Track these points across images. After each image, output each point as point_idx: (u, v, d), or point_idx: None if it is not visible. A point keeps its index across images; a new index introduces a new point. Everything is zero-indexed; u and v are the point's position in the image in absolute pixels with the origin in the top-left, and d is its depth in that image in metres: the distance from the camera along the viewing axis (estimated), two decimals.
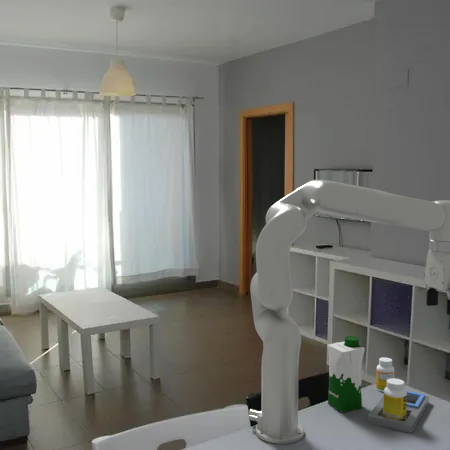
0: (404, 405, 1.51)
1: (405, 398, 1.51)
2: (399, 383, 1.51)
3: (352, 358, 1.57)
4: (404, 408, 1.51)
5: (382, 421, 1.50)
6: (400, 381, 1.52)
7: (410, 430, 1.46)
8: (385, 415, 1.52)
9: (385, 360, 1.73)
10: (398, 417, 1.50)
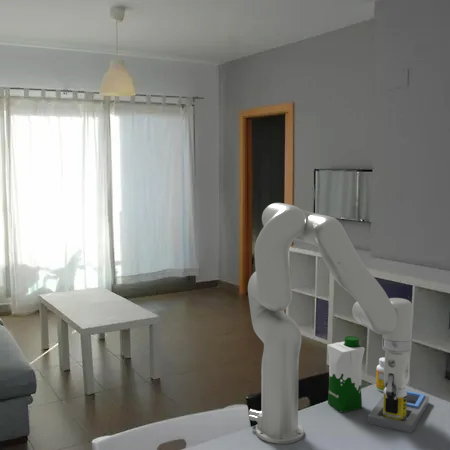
0: (404, 405, 1.50)
1: (405, 398, 1.51)
2: None
3: (352, 358, 1.57)
4: (404, 408, 1.51)
5: (382, 421, 1.50)
6: None
7: (410, 430, 1.46)
8: (385, 415, 1.52)
9: None
10: (398, 417, 1.50)
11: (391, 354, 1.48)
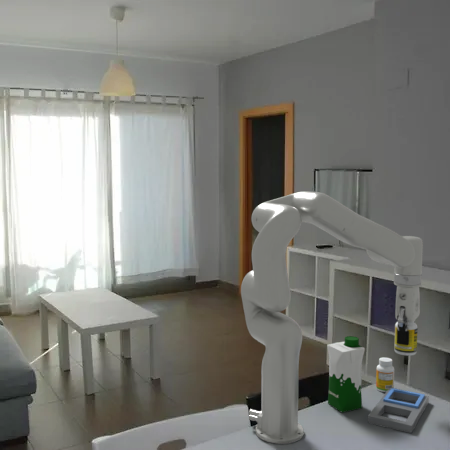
0: (415, 337, 1.58)
1: (416, 331, 1.58)
2: None
3: (352, 358, 1.57)
4: (415, 340, 1.58)
5: (382, 421, 1.50)
6: None
7: (410, 430, 1.46)
8: (397, 347, 1.60)
9: (385, 360, 1.73)
10: (409, 348, 1.58)
11: (403, 288, 1.56)
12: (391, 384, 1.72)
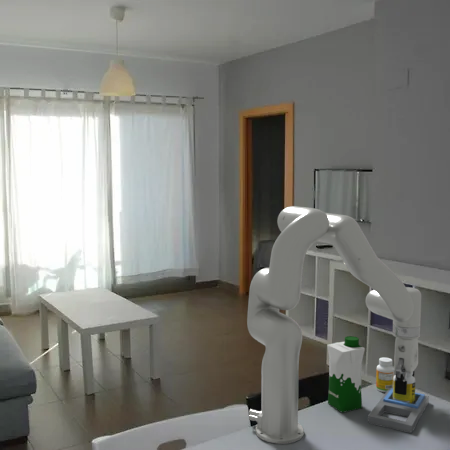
0: (413, 391, 1.60)
1: (414, 384, 1.60)
2: None
3: (352, 358, 1.57)
4: (413, 394, 1.60)
5: (382, 421, 1.50)
6: None
7: (410, 430, 1.46)
8: None
9: (385, 360, 1.73)
10: (407, 402, 1.60)
11: (401, 340, 1.57)
12: (391, 384, 1.72)
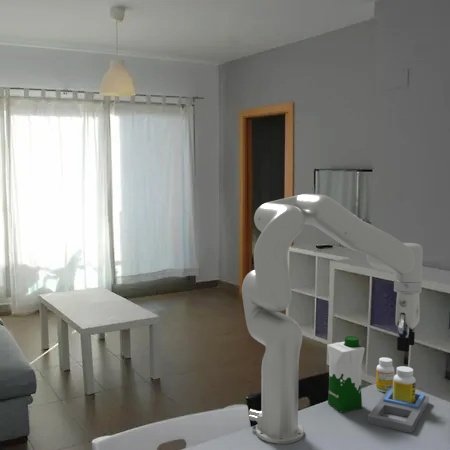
0: (413, 391, 1.60)
1: (414, 384, 1.60)
2: (408, 370, 1.60)
3: (352, 358, 1.57)
4: (413, 394, 1.60)
5: (382, 421, 1.50)
6: (409, 369, 1.62)
7: (410, 430, 1.46)
8: None
9: (385, 360, 1.73)
10: (407, 402, 1.60)
11: (403, 295, 1.56)
12: (391, 384, 1.72)
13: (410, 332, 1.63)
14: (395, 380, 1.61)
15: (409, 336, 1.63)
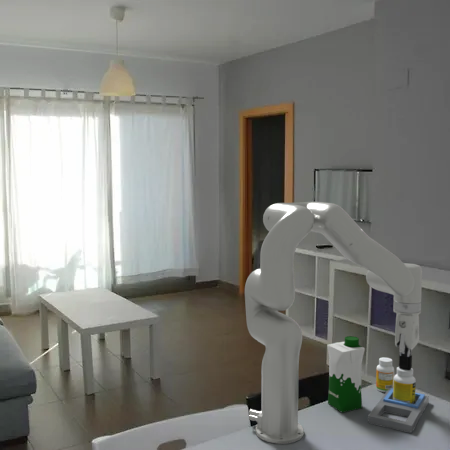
0: (413, 391, 1.60)
1: (414, 384, 1.60)
2: (408, 370, 1.60)
3: (352, 358, 1.57)
4: (413, 394, 1.60)
5: (382, 421, 1.50)
6: None
7: (410, 430, 1.46)
8: None
9: (385, 360, 1.73)
10: (408, 402, 1.60)
11: (402, 316, 1.57)
12: (391, 384, 1.72)
13: None
14: (395, 380, 1.61)
15: None
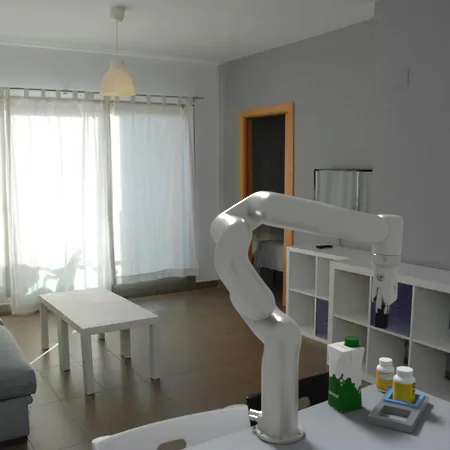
0: (413, 391, 1.60)
1: (414, 384, 1.60)
2: (408, 370, 1.60)
3: (352, 358, 1.57)
4: (413, 394, 1.60)
5: (382, 421, 1.50)
6: (409, 369, 1.62)
7: (410, 430, 1.46)
8: None
9: (385, 360, 1.73)
10: (408, 402, 1.60)
11: (380, 268, 1.46)
12: (391, 384, 1.72)
13: None
14: (395, 380, 1.61)
15: None
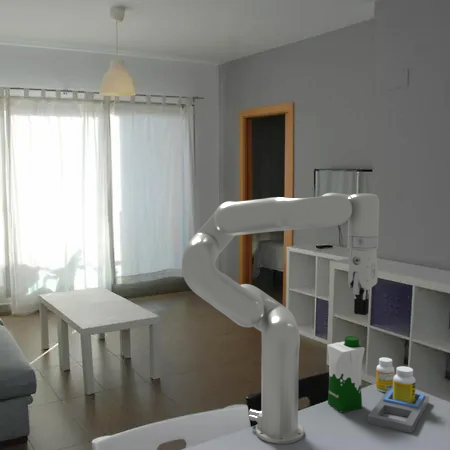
0: (413, 391, 1.60)
1: (414, 384, 1.60)
2: (408, 370, 1.60)
3: (352, 358, 1.57)
4: (413, 394, 1.60)
5: (382, 421, 1.50)
6: (409, 369, 1.62)
7: (410, 430, 1.46)
8: None
9: (385, 360, 1.73)
10: (408, 402, 1.60)
11: (356, 251, 1.37)
12: (391, 384, 1.72)
13: None
14: (395, 380, 1.61)
15: None
